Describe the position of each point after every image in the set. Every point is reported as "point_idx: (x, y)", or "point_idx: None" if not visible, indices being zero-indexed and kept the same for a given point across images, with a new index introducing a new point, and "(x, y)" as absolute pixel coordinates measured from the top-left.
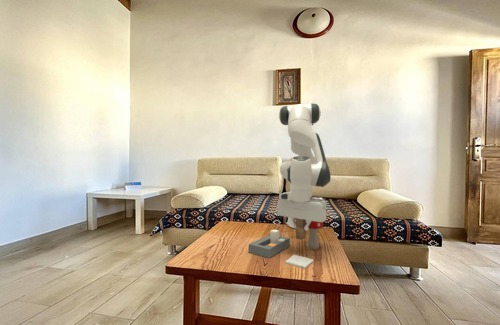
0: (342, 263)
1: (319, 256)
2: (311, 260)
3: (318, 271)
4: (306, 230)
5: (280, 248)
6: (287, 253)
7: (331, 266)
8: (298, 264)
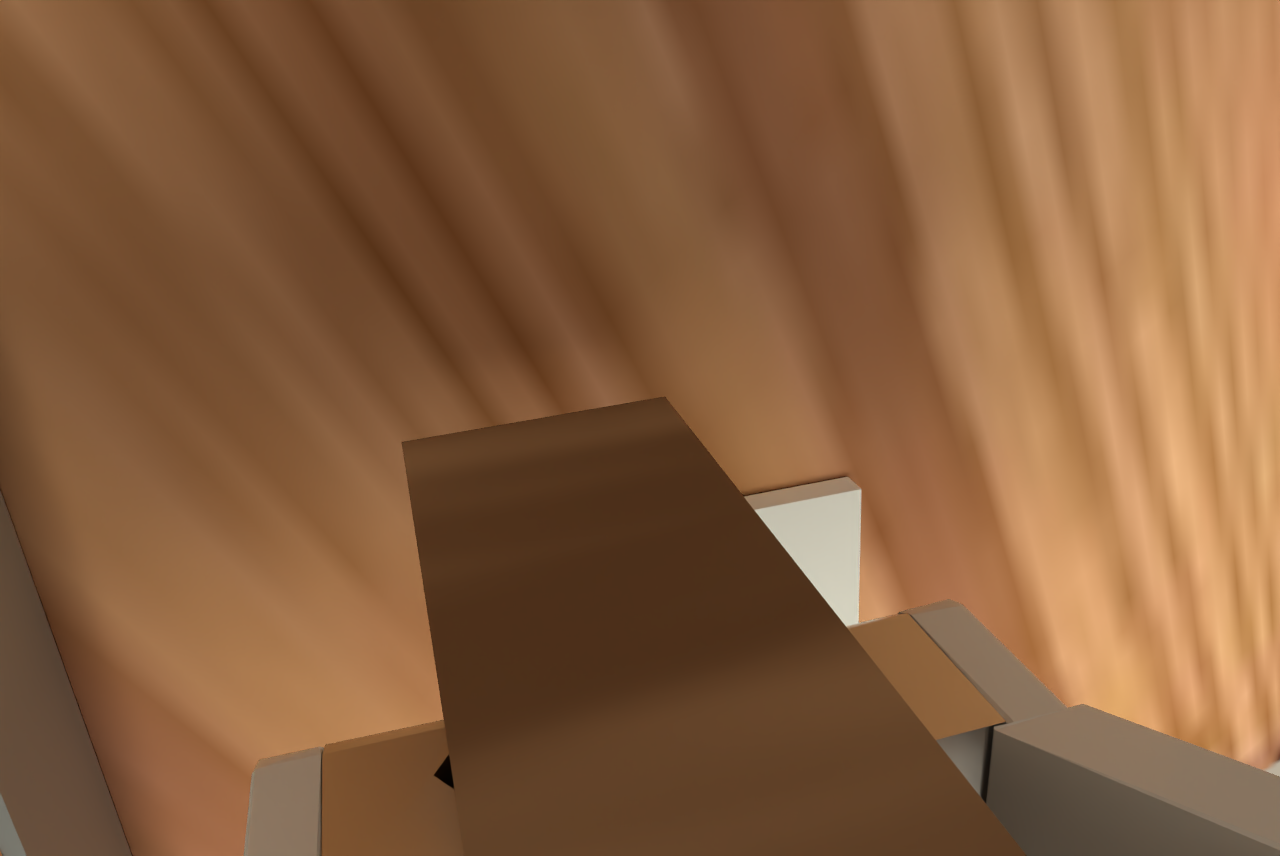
0: (1266, 191)
1: (854, 177)
2: (840, 547)
3: None
4: None
5: (8, 611)
6: (239, 538)
7: (1131, 439)
8: None
